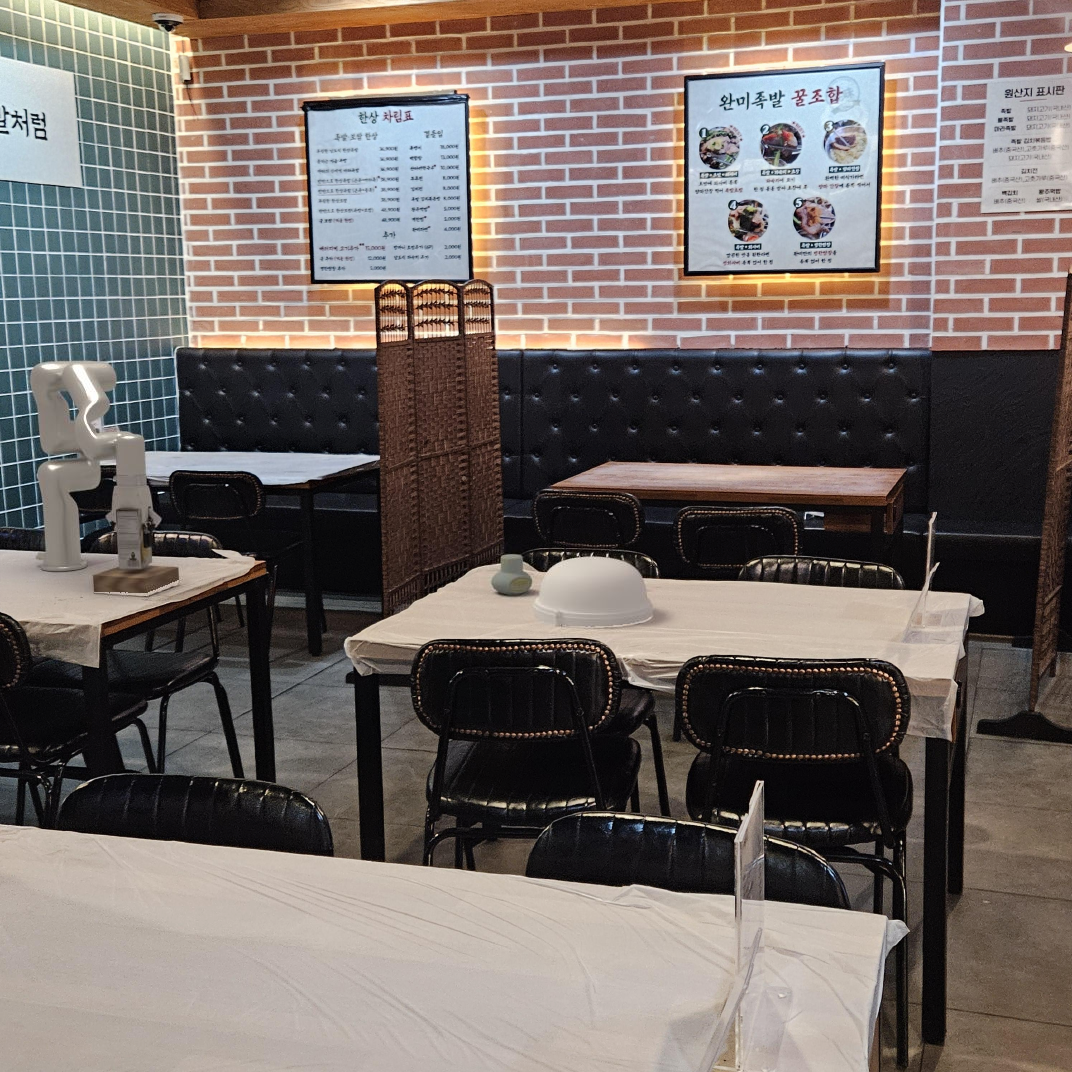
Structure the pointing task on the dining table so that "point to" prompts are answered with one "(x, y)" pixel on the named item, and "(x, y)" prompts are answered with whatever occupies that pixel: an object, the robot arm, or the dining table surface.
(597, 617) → the dome cover
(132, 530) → the coffee box
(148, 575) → the walnut base
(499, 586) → the air freshener
